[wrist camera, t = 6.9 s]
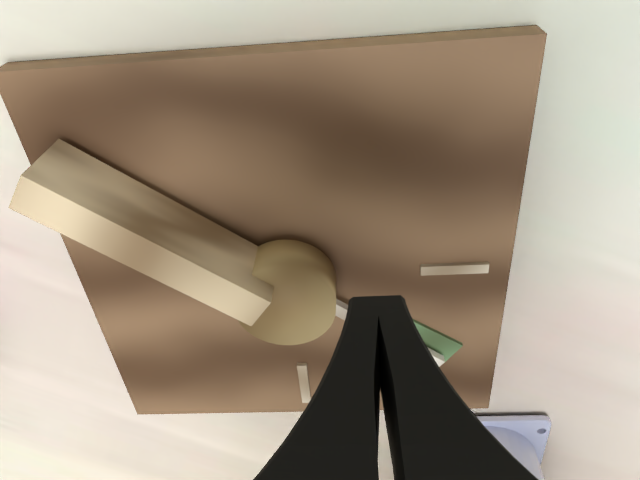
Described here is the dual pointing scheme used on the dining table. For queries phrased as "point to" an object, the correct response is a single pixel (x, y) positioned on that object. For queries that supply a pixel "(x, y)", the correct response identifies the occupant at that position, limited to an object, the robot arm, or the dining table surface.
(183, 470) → the dining table surface
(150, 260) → the dial lever
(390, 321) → the robot arm
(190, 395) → the dial board
